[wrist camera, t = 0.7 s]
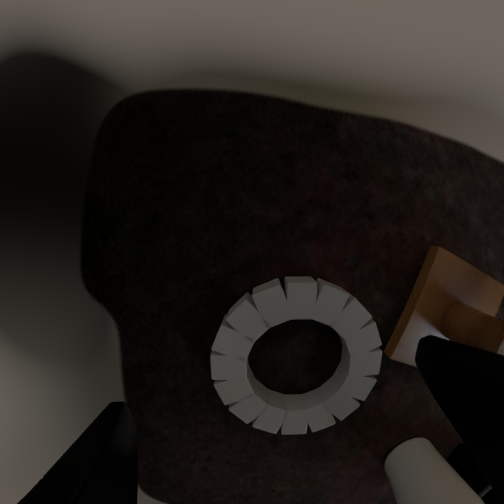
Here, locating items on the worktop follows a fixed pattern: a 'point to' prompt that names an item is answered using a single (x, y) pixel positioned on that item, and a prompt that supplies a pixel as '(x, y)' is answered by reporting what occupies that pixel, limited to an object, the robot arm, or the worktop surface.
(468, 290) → the wooden peg stand
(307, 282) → the segmented block ring
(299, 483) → the worktop surface
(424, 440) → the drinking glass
